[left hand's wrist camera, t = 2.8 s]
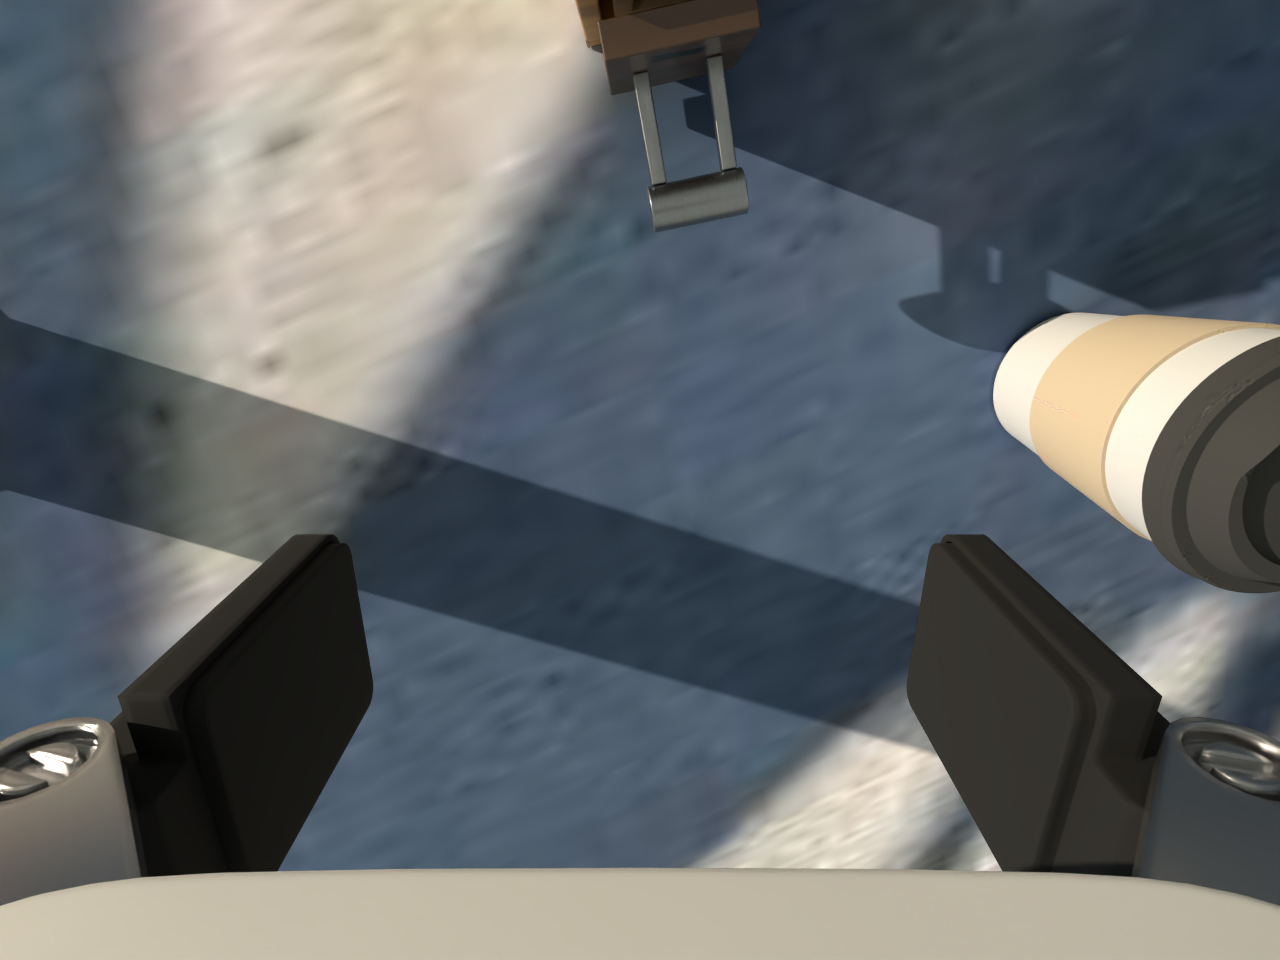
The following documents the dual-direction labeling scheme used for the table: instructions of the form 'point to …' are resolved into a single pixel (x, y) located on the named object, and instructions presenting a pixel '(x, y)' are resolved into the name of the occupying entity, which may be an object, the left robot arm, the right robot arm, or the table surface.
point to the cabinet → (593, 18)
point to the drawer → (670, 51)
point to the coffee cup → (1161, 431)
